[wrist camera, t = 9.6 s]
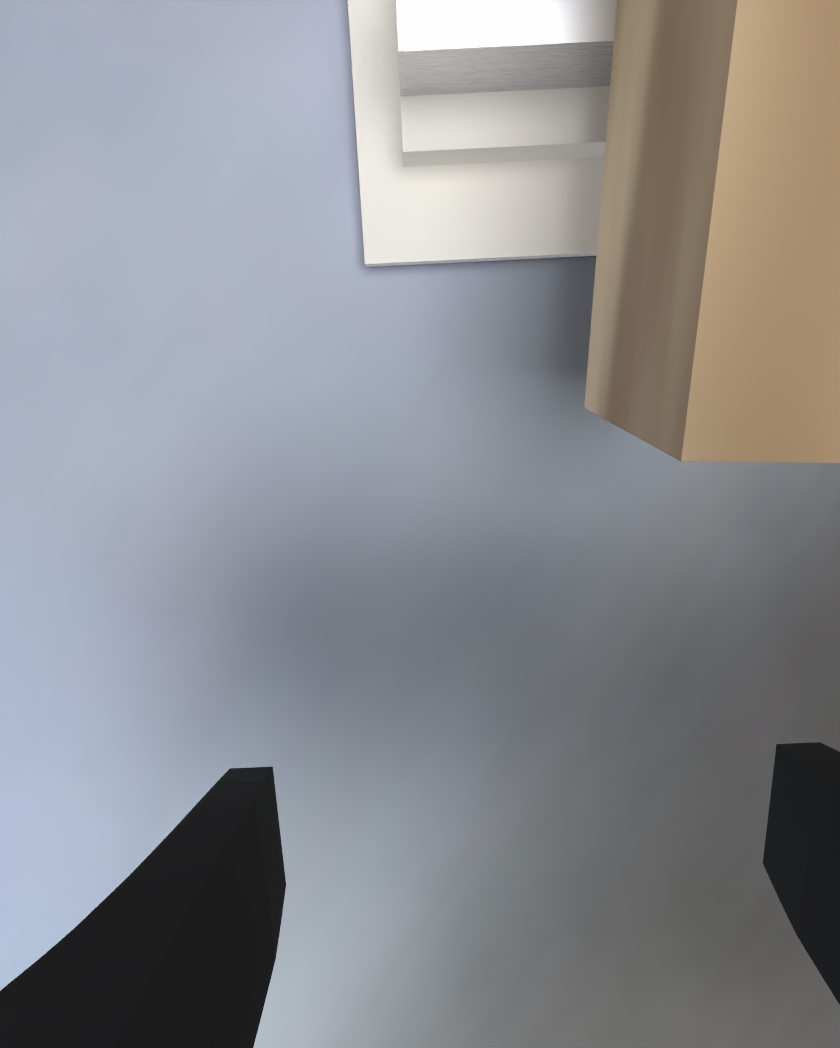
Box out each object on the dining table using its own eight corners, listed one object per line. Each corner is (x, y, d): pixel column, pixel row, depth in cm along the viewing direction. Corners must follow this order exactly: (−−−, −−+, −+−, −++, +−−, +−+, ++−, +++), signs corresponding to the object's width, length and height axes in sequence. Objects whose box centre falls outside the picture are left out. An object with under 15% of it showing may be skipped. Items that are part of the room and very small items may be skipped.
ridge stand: (903, -159, 15) (1132, -379, 10) (856, 242, 17) (1027, 214, 13) (341, -131, 15) (310, -340, 10) (367, 266, 17) (351, 248, 13)
